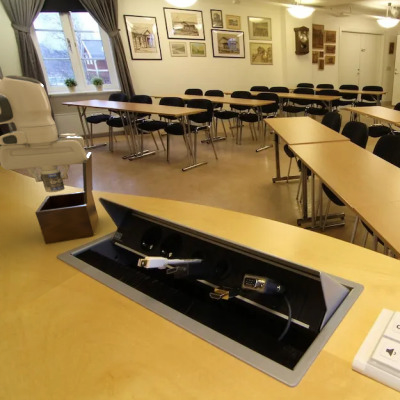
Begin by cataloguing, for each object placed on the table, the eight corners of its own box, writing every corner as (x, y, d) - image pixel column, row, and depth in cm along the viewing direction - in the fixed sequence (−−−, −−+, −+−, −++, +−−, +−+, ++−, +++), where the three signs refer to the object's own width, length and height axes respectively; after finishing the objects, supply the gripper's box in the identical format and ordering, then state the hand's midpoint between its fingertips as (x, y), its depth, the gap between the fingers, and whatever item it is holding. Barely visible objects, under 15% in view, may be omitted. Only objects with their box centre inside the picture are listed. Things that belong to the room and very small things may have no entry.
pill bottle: (54, 193, 97) (46, 166, 94) (41, 192, 98) (33, 165, 95) (68, 188, 102) (61, 162, 99) (56, 187, 103) (49, 161, 100)
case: (45, 244, 99) (35, 212, 95) (55, 224, 112) (47, 195, 108) (94, 235, 105) (86, 205, 101) (98, 218, 118) (91, 190, 114)
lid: (82, 162, 97) (85, 162, 97) (88, 152, 110) (91, 152, 110) (84, 204, 101) (87, 204, 101) (89, 189, 113) (92, 189, 114)
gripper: (83, 131, 101) (93, 173, 106) (-3, 135, 92) (13, 181, 97) (80, 134, 96) (91, 178, 101) (-11, 139, 87) (6, 187, 92)
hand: (52, 180), depth 99 cm, fingers closed on pill bottle, 5 cm apart
